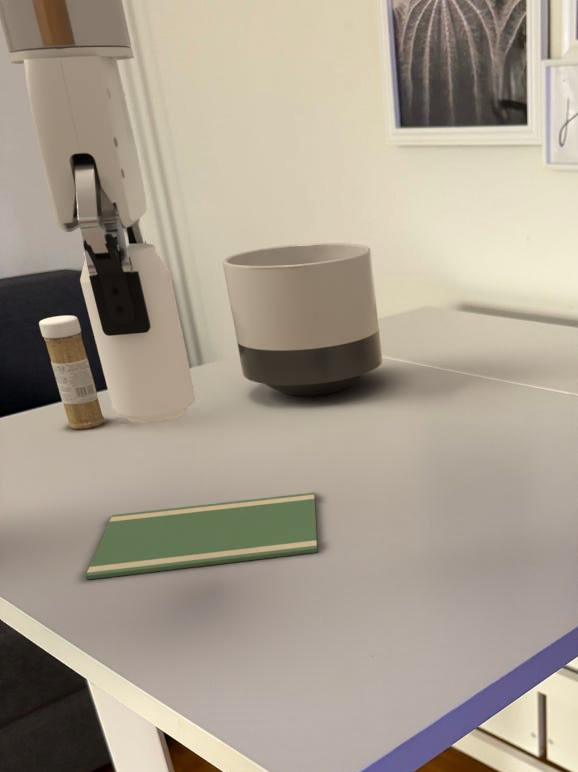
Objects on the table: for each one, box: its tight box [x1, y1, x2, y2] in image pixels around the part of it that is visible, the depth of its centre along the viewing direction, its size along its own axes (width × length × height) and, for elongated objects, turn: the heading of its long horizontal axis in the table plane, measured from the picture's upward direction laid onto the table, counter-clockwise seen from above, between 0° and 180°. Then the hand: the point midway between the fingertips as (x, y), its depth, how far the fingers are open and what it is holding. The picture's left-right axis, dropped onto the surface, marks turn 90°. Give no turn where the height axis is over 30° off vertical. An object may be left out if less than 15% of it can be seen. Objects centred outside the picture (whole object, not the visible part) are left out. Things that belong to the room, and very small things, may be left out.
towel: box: [85, 492, 319, 580], centre depth 88 cm, size 20×14×1 cm
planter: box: [222, 242, 383, 397], centre depth 127 cm, size 19×19×18 cm
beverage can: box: [79, 243, 196, 424], centre depth 69 cm, size 6×6×12 cm
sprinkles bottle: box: [38, 315, 105, 430], centre depth 118 cm, size 5×5×14 cm
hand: (134, 320), depth 69 cm, fingers closed on beverage can, 6 cm apart
